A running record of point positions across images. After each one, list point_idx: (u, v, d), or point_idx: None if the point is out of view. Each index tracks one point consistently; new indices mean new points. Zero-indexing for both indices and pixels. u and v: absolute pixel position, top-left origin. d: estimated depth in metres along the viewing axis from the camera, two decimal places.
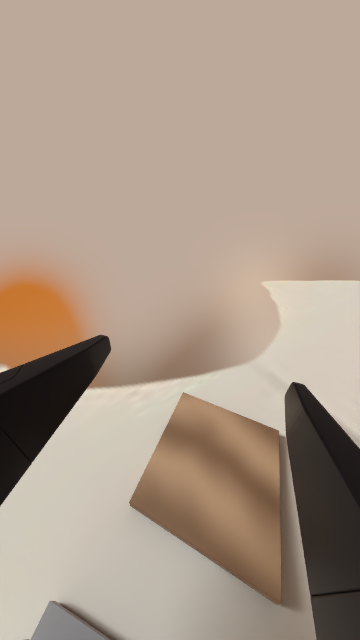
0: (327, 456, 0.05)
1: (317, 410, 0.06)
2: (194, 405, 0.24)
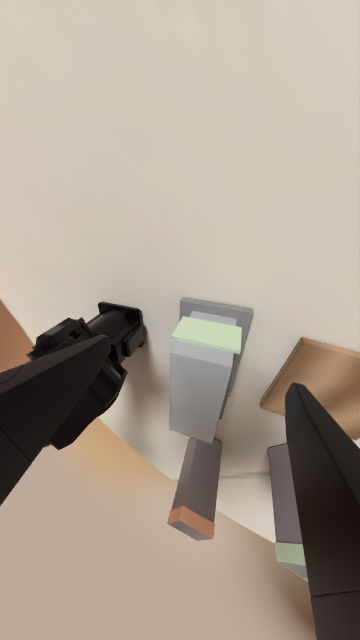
0: (327, 456, 0.05)
1: (317, 410, 0.06)
2: None
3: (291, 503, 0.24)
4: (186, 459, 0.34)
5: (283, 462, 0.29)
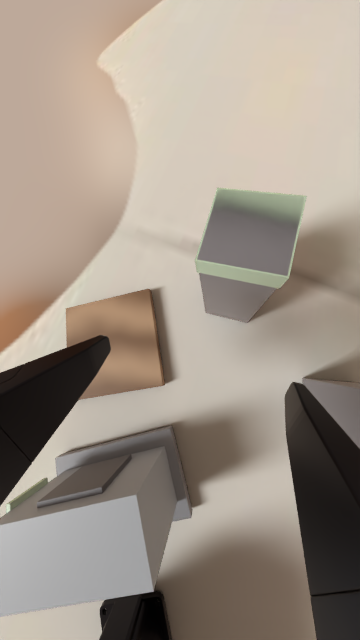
0: (327, 456, 0.05)
1: (317, 410, 0.06)
2: (79, 313, 0.25)
3: (226, 296, 0.16)
4: None
5: (227, 312, 0.20)
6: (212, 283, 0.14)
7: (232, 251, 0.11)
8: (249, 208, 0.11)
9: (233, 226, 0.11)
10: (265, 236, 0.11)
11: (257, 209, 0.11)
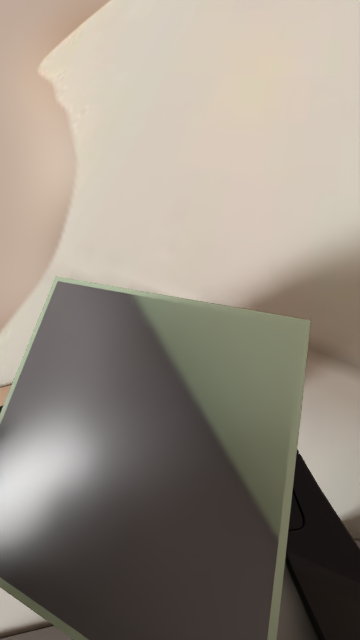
0: None
1: None
2: None
3: None
4: None
5: None
6: None
7: (58, 533, 0.03)
8: (128, 353, 0.03)
9: (75, 419, 0.03)
10: (170, 483, 0.03)
11: (151, 360, 0.03)
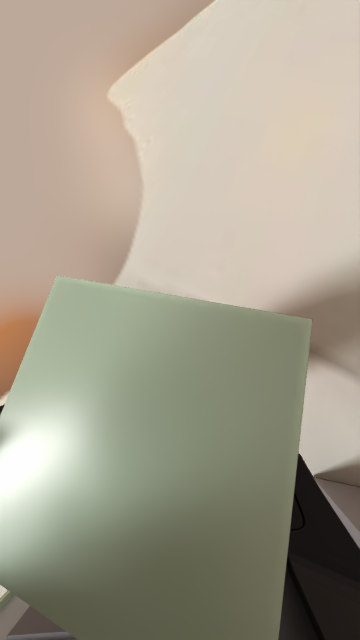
0: None
1: None
2: None
3: None
4: None
5: None
6: None
7: (59, 531, 0.03)
8: (130, 352, 0.03)
9: (77, 418, 0.03)
10: (171, 482, 0.03)
11: (152, 359, 0.03)
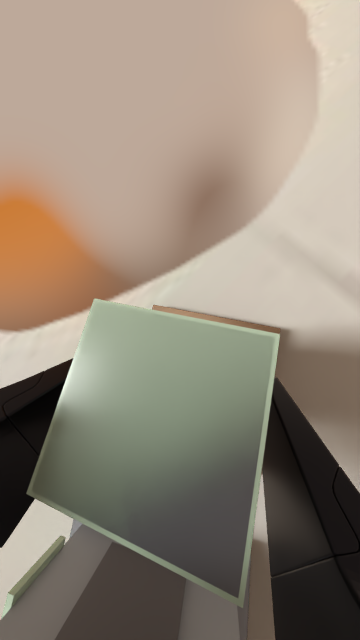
0: (287, 443, 0.05)
1: (285, 401, 0.07)
2: None
3: None
4: None
5: None
6: None
7: (107, 480, 0.04)
8: (152, 357, 0.05)
9: (116, 404, 0.05)
10: (184, 444, 0.04)
11: (169, 362, 0.05)
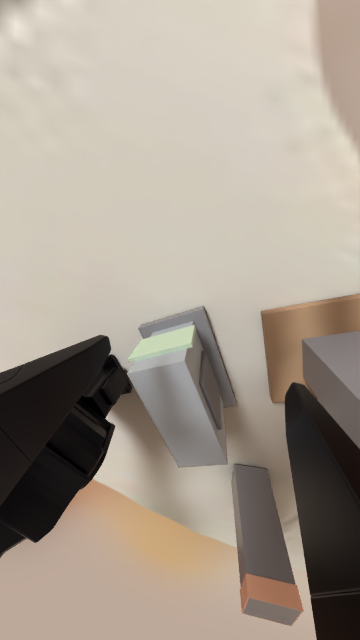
0: (327, 456, 0.05)
1: (317, 410, 0.06)
2: None
3: (347, 412, 0.14)
4: (235, 507, 0.28)
5: (313, 373, 0.18)
6: None
7: None
8: None
9: None
10: None
11: None
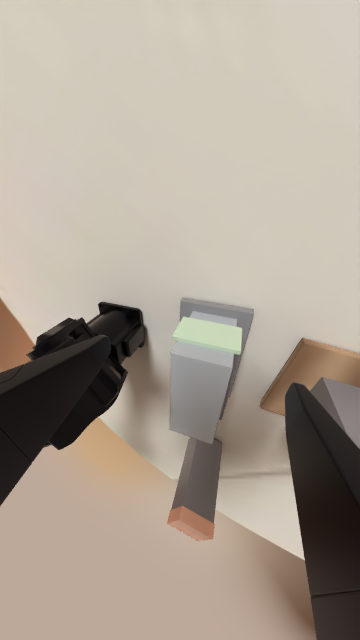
0: (327, 456, 0.05)
1: (317, 410, 0.06)
2: None
3: None
4: (186, 459, 0.34)
5: None
6: None
7: None
8: None
9: None
10: None
11: None
